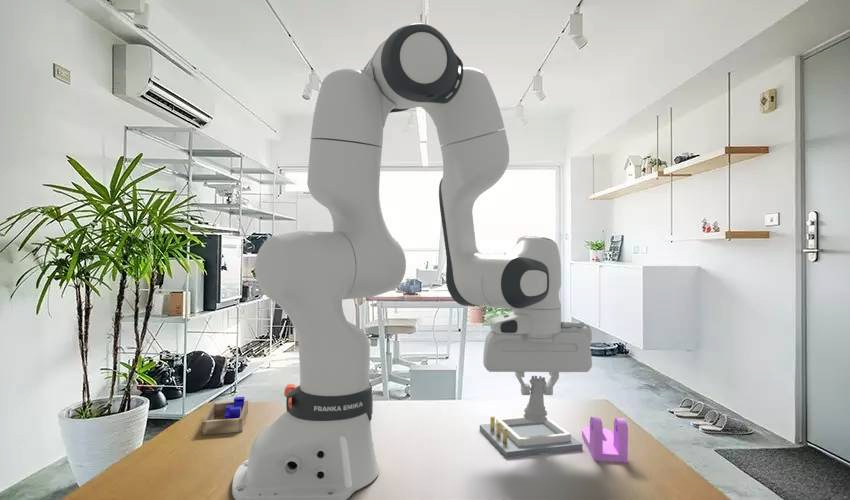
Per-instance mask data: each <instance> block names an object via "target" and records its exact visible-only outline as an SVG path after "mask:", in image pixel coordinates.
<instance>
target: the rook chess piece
mask: <svg viewBox="0 0 850 500" xmlns="http://www.w3.org/2000/svg"><path fill="white" fill-rule="evenodd" d="M528 381H529V383H530V395H529V399H528V402H527V403H528V404H526V407H525V408H524V409H523V411H524V414H523V416H524V418H525V419H526V420H528V421H531V422H537V423H543V422H545V421H546V420H547V418H546V417H545V416H548V411H547V410H546V407H545V401H544V400H545V399H544V396H545V395H544V392H545V390H544V386H545V385H546V384H547V383H548V382H546V377H544V376H540V375H539V376H538V375H531V378H530V379H529V380H528Z"/></svg>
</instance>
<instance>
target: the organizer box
mask: <svg viewBox="0 0 850 500" xmlns="http://www.w3.org/2000/svg"><path fill="white" fill-rule="evenodd" d="M231 404H234V401H224V402H212V404H211V405H210V407H209V409H208V411H207V413H206V415H205V416H204V419H203V420H202V426H201V427H202V428H201V429H202V433H201V434H202V435H203V436H205V435H216V434H217V435H218V434H229V433H241V432H243V430H244V428H245V423H246V420H247V416H248V413H249V400H245V403H244V406H243V409H242V412H241V415H240V418H235V419H223V418H222V419H214V418H215V417H216V416H225V412H226V407H227V405H231ZM202 435H201V436H202Z"/></svg>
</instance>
